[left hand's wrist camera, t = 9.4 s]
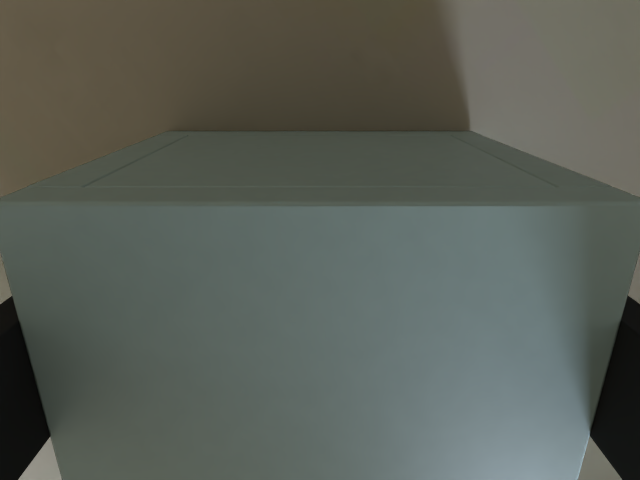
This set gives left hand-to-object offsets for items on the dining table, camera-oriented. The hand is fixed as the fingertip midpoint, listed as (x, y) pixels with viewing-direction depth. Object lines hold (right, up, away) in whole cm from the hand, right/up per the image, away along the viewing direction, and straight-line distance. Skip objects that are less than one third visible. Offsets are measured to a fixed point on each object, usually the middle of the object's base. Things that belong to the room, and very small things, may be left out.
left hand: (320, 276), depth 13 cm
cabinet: (0, -4, +6) cm, 8 cm away
